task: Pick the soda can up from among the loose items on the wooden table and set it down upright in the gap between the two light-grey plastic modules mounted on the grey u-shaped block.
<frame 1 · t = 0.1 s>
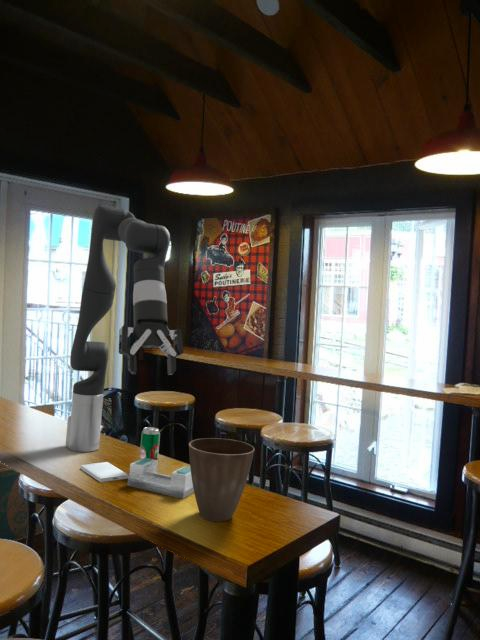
hand: (152, 373, 119), 31 cm above the table, tool tilted 20°, fingers open, 8 cm apart
plant pot: (215, 516, 125), on the table
grey u-shaped block: (162, 487, 140), on the table
soda can: (147, 472, 152), on the table
hard drive: (104, 476, 147), on the table
charger block: (204, 483, 147), on the table
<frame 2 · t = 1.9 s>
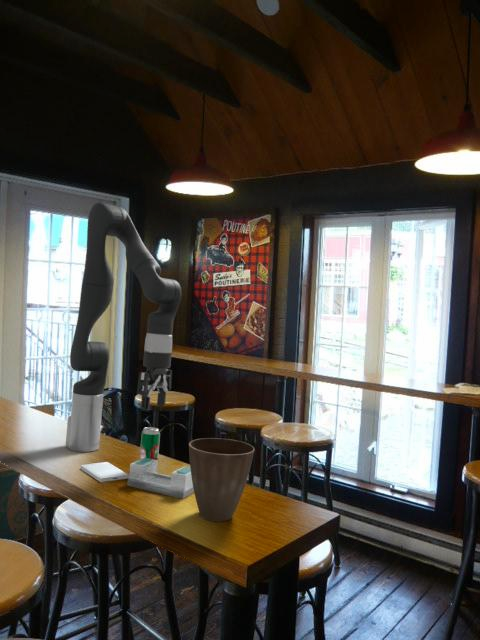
hand: (153, 408, 152), 18 cm above the table, tool pointing down, fingers open, 8 cm apart
nothing on the table moved.
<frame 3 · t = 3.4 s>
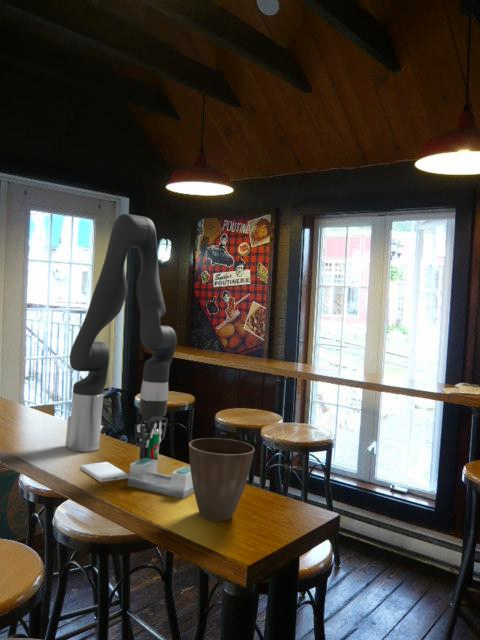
hand: (148, 457, 152), 4 cm above the table, tool pointing down, fingers closed on soda can, 5 cm apart
soda can: (147, 472, 152), on the table, touching gripper
everything else where it was.
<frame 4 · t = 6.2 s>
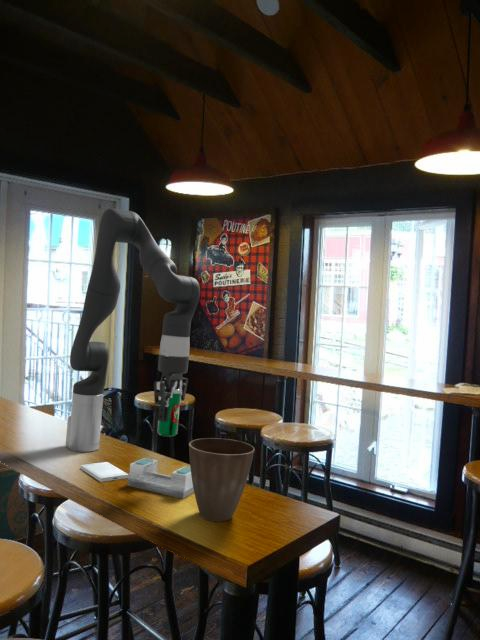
hand: (168, 419, 140), 18 cm above the table, tool pointing down, fingers closed on soda can, 5 cm apart
soda can: (167, 435, 140), point 13 cm above the table, touching gripper
everything else where it was.
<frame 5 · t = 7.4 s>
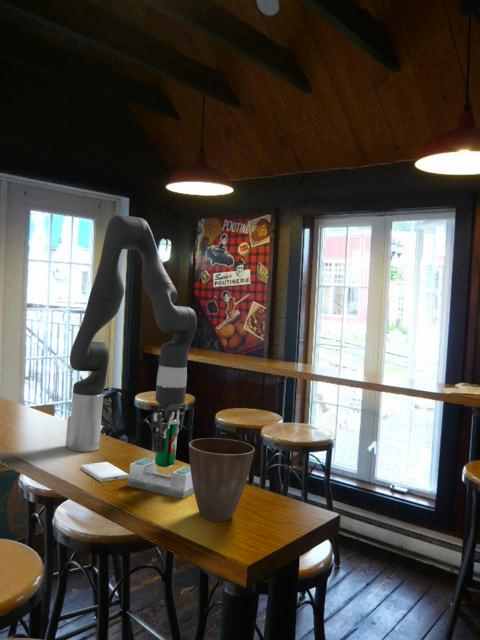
hand: (165, 449, 140), 10 cm above the table, tool pointing down, fingers closed on soda can, 5 cm apart
soda can: (164, 465, 140), point 6 cm above the table, touching gripper
everything else where it was.
when the fingers open (7 cm above the table, at t = 8.5 s): soda can drops 1 cm, resting on grey u-shaped block.
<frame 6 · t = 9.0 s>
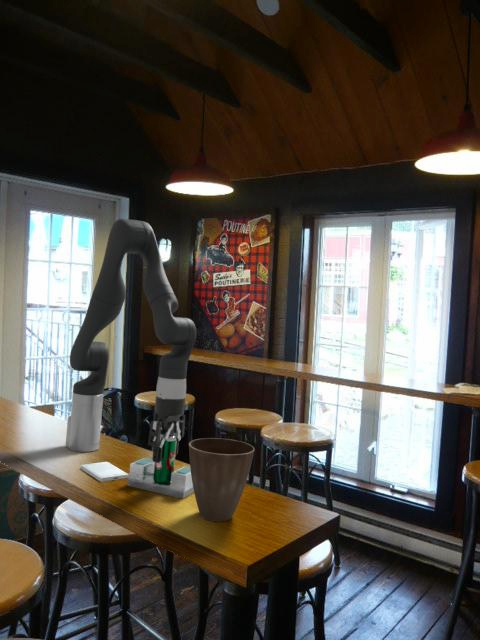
hand: (165, 458, 140), 8 cm above the table, tool pointing down, fingers open, 8 cm apart
soda can: (162, 482, 140), point 1 cm above the table, touching grey u-shaped block
everything else where it was.
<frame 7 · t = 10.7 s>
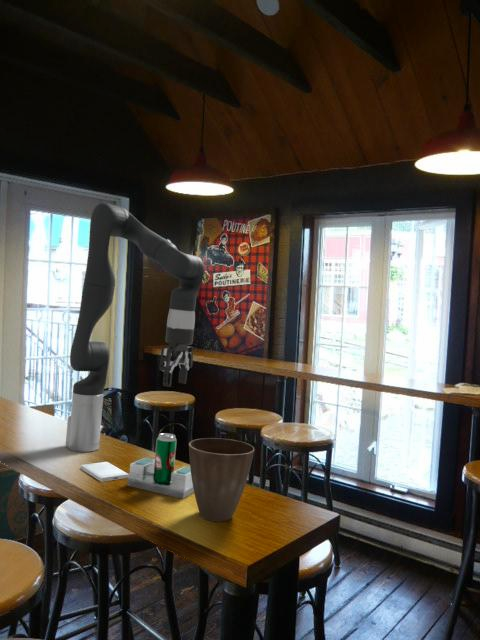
hand: (174, 384, 151), 25 cm above the table, tool pointing down, fingers open, 8 cm apart
nothing on the table moved.
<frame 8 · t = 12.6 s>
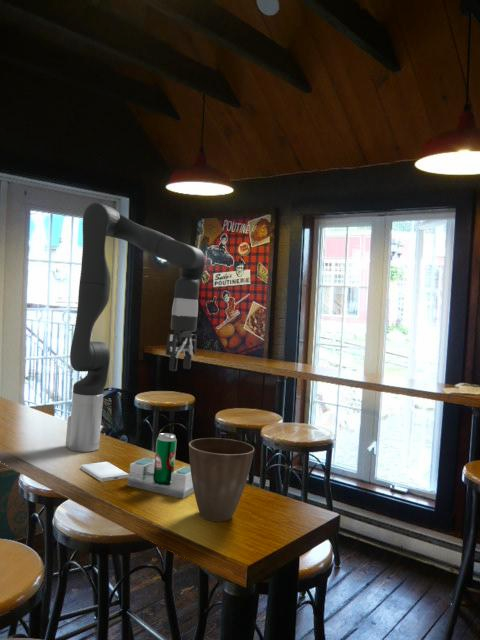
hand: (179, 369, 160), 28 cm above the table, tool pointing down, fingers open, 8 cm apart
nothing on the table moved.
at the end: soda can 0.1 cm off-centre on the grey u-shaped block, point 1.3 cm above the grey u-shaped block's base; soda can tilted 0°; the gripper is holding nothing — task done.
